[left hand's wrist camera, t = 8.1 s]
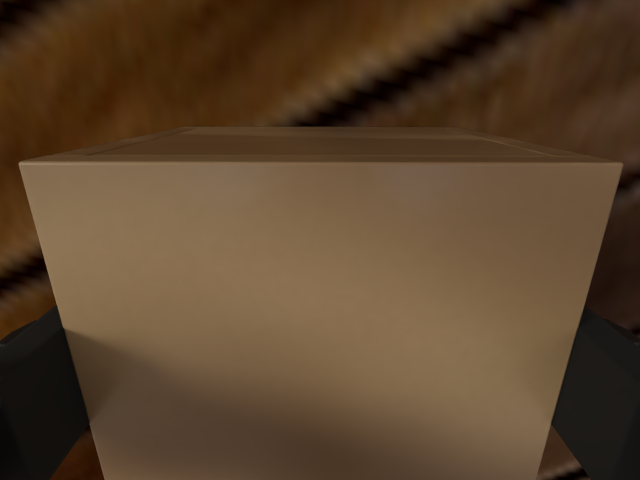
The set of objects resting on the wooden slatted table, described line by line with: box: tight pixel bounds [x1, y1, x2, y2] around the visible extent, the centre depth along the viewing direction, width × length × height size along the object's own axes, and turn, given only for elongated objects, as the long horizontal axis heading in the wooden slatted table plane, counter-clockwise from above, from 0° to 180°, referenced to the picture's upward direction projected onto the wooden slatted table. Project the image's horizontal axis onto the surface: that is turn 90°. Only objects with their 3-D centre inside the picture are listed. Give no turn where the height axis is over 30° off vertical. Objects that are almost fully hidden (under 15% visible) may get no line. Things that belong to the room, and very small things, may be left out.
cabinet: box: [19, 127, 623, 480], centre depth 14 cm, size 16×11×9 cm
